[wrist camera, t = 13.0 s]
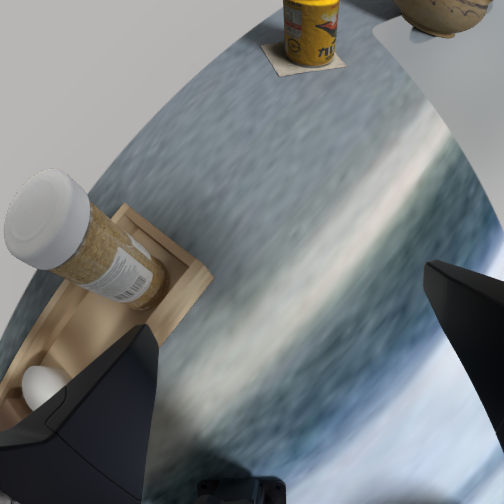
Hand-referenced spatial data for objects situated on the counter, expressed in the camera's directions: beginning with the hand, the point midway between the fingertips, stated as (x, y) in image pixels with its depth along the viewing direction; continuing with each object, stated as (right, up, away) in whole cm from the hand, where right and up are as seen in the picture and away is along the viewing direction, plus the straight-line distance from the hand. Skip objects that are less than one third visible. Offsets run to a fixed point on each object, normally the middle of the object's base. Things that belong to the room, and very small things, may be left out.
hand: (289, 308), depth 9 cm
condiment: (+5, +26, +23) cm, 35 cm away
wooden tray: (-15, -8, +13) cm, 22 cm away
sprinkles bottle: (-10, -1, +15) cm, 18 cm away
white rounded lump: (-18, -10, +12) cm, 24 cm away
